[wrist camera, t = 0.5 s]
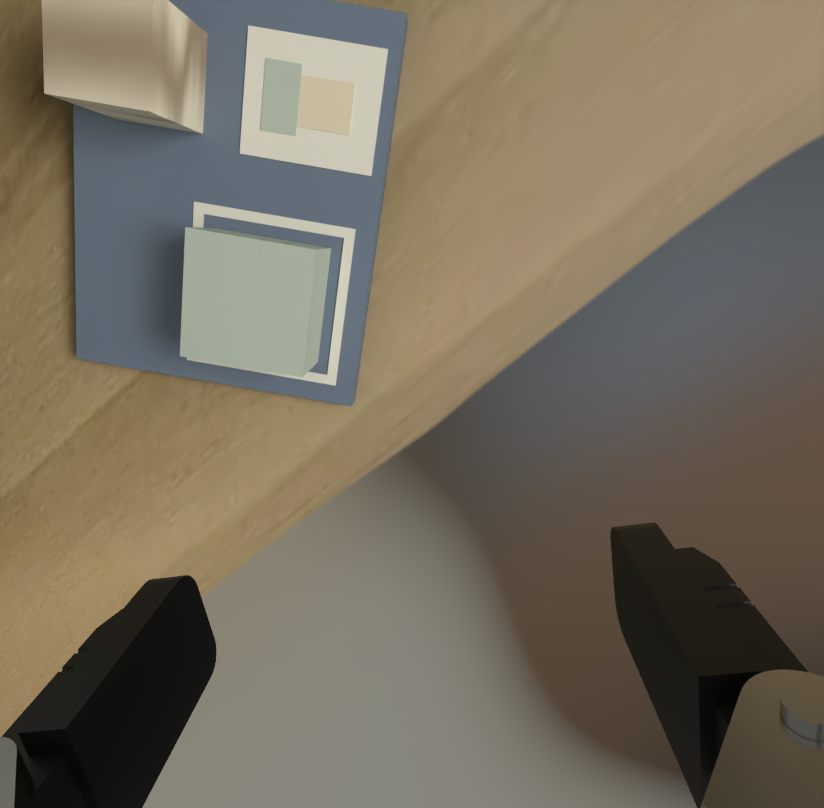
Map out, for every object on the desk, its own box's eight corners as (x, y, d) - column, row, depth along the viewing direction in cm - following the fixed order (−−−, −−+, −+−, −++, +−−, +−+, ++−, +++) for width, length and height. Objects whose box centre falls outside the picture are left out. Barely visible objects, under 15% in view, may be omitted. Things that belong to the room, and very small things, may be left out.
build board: (84, -33, 31) (69, -45, 30) (407, 21, 31) (406, 12, 29) (87, 354, 37) (74, 359, 36) (354, 401, 37) (351, 406, 36)
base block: (214, 228, 33) (185, 227, 29) (331, 248, 33) (316, 249, 29) (208, 343, 35) (179, 356, 31) (317, 362, 35) (302, 377, 31)
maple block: (117, 18, 30) (40, -33, 25) (207, 33, 30) (152, -14, 25) (116, 119, 32) (44, 93, 26) (202, 133, 32) (149, 111, 26)
